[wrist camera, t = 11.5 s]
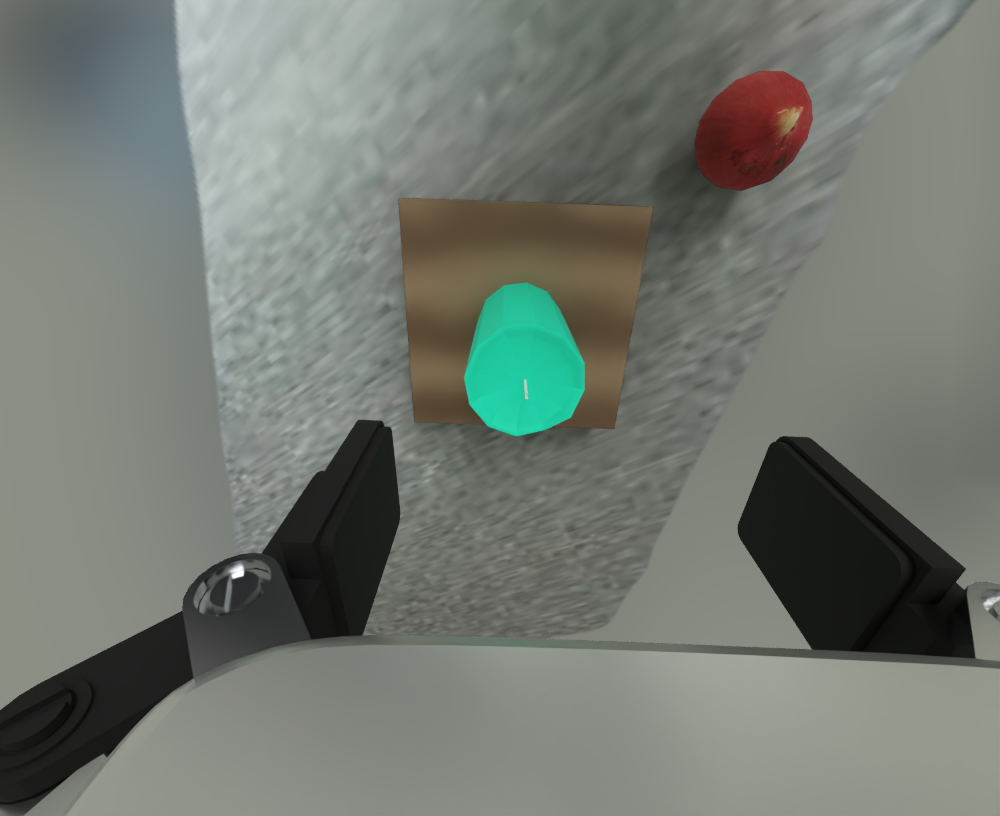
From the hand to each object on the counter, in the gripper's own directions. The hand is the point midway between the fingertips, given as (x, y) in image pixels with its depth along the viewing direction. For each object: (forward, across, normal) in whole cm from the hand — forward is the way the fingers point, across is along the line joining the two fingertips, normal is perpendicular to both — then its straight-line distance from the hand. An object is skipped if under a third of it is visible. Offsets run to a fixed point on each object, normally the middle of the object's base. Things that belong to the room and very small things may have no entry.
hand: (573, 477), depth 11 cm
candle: (+21, +1, +2) cm, 21 cm away
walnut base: (+25, +1, +3) cm, 25 cm away
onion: (+25, -12, -10) cm, 29 cm away
